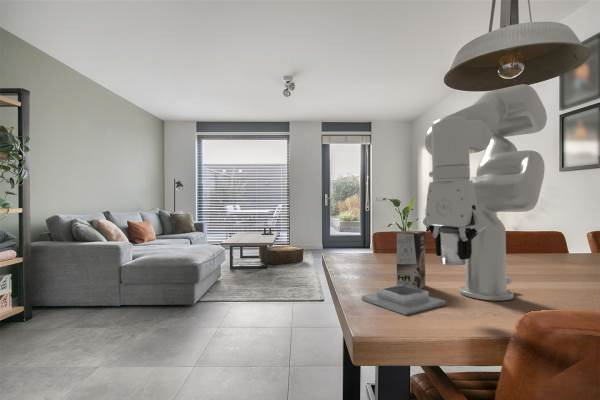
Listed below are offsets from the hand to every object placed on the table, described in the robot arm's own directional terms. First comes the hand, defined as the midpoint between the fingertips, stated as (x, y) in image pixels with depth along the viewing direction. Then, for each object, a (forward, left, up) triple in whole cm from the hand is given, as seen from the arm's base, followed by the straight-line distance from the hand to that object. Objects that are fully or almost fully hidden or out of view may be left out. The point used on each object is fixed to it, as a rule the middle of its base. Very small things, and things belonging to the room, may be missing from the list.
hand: (453, 256), depth 74 cm
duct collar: (+3, -12, -13) cm, 18 cm away
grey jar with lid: (0, 0, -2) cm, 2 cm away
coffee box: (-11, -21, -13) cm, 27 cm away
